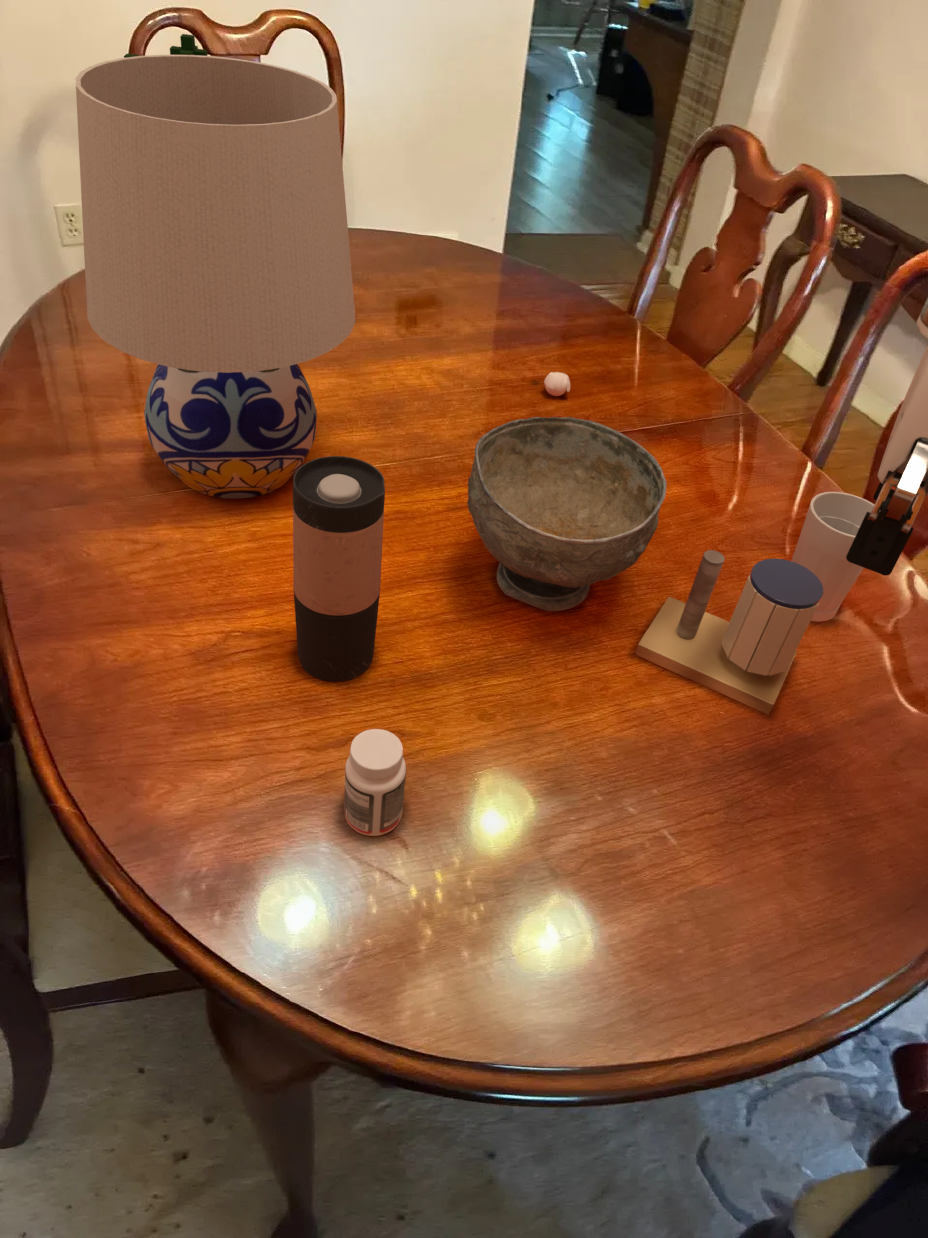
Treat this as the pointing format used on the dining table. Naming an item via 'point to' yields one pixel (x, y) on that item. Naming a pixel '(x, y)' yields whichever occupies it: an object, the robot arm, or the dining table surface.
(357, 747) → the pill bottle
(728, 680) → the double peg stand
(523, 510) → the bowl
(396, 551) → the dining table surface
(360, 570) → the travel mug
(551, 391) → the garlic
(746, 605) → the blue topped tan cylinder
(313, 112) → the table lamp
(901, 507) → the robot arm
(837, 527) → the cup
